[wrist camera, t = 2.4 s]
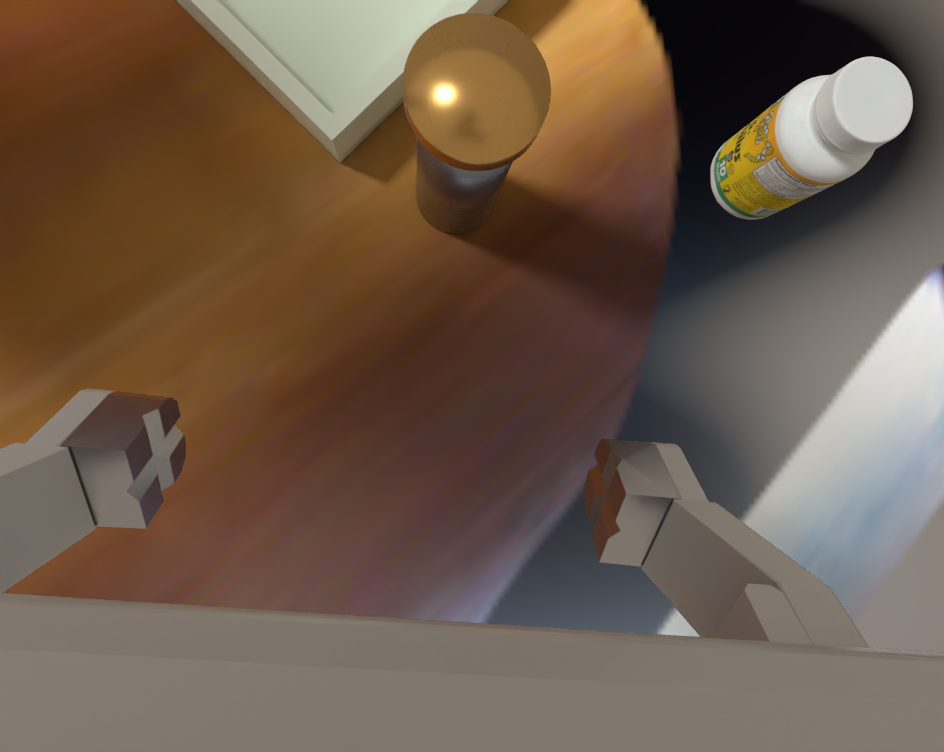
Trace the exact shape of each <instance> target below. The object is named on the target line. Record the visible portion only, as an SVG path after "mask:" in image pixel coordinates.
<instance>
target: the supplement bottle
mask: <svg viewBox="0 0 944 752" xmlns="http://www.w3.org/2000/svg"><path fill="white" fill-rule="evenodd" d="M912 107H913V99H912V92H911V88H910V86H909V83H908V81H907V79H906V78H905V76H904V75H903V73H902V72H901V71H900V70H899V69H898V68H897V67H896V66H895V65H893V64H892V63H890V62H888V61H887V60H884V59H881V58H877V57H863V58H860V59H856V60H854V61H853V62H851V63H849V64H847V65H846V66H845V67H843V68H842V69H840V70H839V71H837V72H836V73H834V74H832V75H823V76H818V77H814V78H811V79H808V80H806V81H804V82H802V83H801V84H799V85H798V86H796V87H795V88H794V89H792V90H791V91H790V92H788V93H787V94H786V95H785V96H783V97H782V98H781V99H779V100H778V101H777V102H776V103H775V104H773V105H772V106H771V107H769V108H768V109H767V110H766V111H764V112H763V113H762V114H761V115H759V116H758V117H757V118H756V119H755V120H753V121H752V122H751V123H749V124H748V125H747V126H746V127H744V128H743V129H742V130H740V131H739V132H738V133H737V134H735V135H734V136H733V137H732V138H730V139H729V140H728V141H727V142H726V143H724V144H723V145H722V146H721V148H720V149H719V150H718V152H717V153H716V155H715V157H714V159H713V162H712V165H711V187H712V191H713V193H714V196H715V198H716V200H717V202H718V203H719V204H720V205H721V206H722V207H723V208H724V209H725V210H726V211H727V212H729V213H731V214H732V215H734V216H736V217H739V218H743V219H749V220H753V219H754V220H755V219H761V218H765V217H768V216H770V215H772V214H775V213H777V212H779V211H781V210H783V209H785V208H787V207H789V206H791V205H793V204H795V203H797V202H799V201H801V200H803V199H805V198H807V197H809V196H812V195H814V194H816V193H818V192H820V191H822V190H824V189H826V188H828V187H830V186H832V185H834V184H836V183H838V182H841V181H842V180H844V179H846V178H848V177H850V176H852V175H853V174H855V173H856V172H857V171H859V170H860V169H861V168H862V167H863V166H864V165H865V164H866V163H867V162H868V160H869V159H870V158H871V156H872V154H873V152H874V150H875V149H876V148H878V147H879V146H881V145H883V144H885V143H886V142H888V141H890V140H891V139H893V138H895V137H896V136H897V135H898V134H900V133H901V132H902V131H903V130H904V128H905V127H906V125H907V124H908V122H909V120H910V116H911V113H912Z"/></svg>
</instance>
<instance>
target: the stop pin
mask: <svg viewBox="0 0 944 752" xmlns="http://www.w3.org/2000/svg"><path fill="white" fill-rule="evenodd" d="M550 96H551V86H550V78H549V73H548V69H547V66H546V63H545V61H544V59H543V57H542V55H541V53H540V51H539V50H538V48H537V47H536V45H535V44H534V43H533V41H532V40H531V39H530V38H529V37H528V36H527V35H526V34H525V33H524V32H523V31H522V30H520V29H519V28H517V27H516V26H515V25H513V24H511V23H510V22H508V21H506V20H504V19H501V18H499V17H496V16H492V15H488V14H482V13H464V14H457V15H454V16H450V17H447V18H445V19H443V20H441V21H439V22H437V23H435V24H434V25H432V26H431V27H430V28H428V29H427V30H426V31H425V32H424V33H423V34H422V35H421V36H420V37H419V38H418V39H417V41H416V42H415V44H414V45H413V47H412V49H411V51H410V53H409V55H408V57H407V60H406V63H405V68H404V73H403V98H404V109H405V113H406V117H407V120H408V123H409V126H410V128H411V130H412V132H413V134H414V135H415V137H416V143H417V202H418V206H419V209H420V211H421V213H422V215H423V216H424V218H425V219H426V220H427V222H428V223H429V224H431V225H432V226H433V227H435V228H436V229H438V230H440V231H442V232H445V233H449V234H464V233H468V232H471V231H473V230H475V229H477V228H478V227H480V226H481V225H482V224H483V223H484V222H485V221H486V219H487V218H488V216H489V215H490V213H491V210H492V208H493V206H494V203H495V201H496V199H497V196H498V194H499V192H500V189H501V187H502V185H503V182H504V180H505V178H506V176H507V173H508V171H509V169H510V166H511V164H512V162H513V161H514V160H516V159H517V158H519V157H520V156H521V155H522V154H523V153H525V152H526V150H527V149H528V148H529V147H530V146H531V145H532V143H533V142H534V140H535V139H536V137H537V135H538V133H539V131H540V128H541V126H542V124H543V122H544V120H545V118H546V115H547V112H548V109H549V104H550Z"/></svg>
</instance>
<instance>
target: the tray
mask: <svg viewBox="0 0 944 752" xmlns="http://www.w3.org/2000/svg"><path fill="white" fill-rule="evenodd" d="M176 1H177V2H178V3H179V4H180V5H181V6H182V7H183V8H184V9H185V10H186V11H187V12H188V13H189V14H190V15H191V16H192V17H193V18H194V19H195V20H196V21H197V22H198V23H199V24H200V25H201V26H202V27H203V28H204V29H205V30H206V31H207V32H208V33H209V34H210V35H211V36H212V37H213V38H214V39H215V40H216V41H217V42H218V43H219V44H220V45H221V46H222V47H223V48H224V49H225V50H226V51H227V52H228V53H229V54H230V55H231V56H232V57H233V58H234V59H235V60H236V61H237V62H238V63H239V64H240V65H241V66H242V67H243V68H244V69H245V70H246V71H247V72H248V73H249V74H250V75H251V76H252V77H253V78H254V79H255V80H256V81H257V82H258V83H259V84H260V85H261V86H262V87H263V88H264V89H266V90H267V91H268V92H269V93H270V94H271V95H272V96H273V97H274V98H275V99H276V100H277V101H278V102H279V103H280V104H281V105H282V106H283V107H284V108H285V109H286V110H287V111H288V112H289V113H290V114H291V115H292V116H293V117H294V118H295V119H296V120H297V121H298V122H299V123H300V124H301V125H302V126H303V127H304V128H305V129H306V130H307V131H308V132H309V133H310V134H311V135H312V136H313V137H314V138H315V139H316V140H317V141H318V142H319V143H320V144H321V145H322V146H323V147H324V148H325V149H326V150H327V151H328V152H329V153H330V154H331V155H332V156H333V157H334V158H335V159H336V160H337V161H338V162H339V163H341V162H342V161H343V160H344V159H345V158H346V157H347V156H348V155H349V154H350V153H351V152H352V151H353V150H354V149H355V148H356V147H357V146H358V145H359V144H360V143H361V142H362V141H364V140H365V139H366V138H367V137H368V136H369V135H370V134H371V133H372V132H373V131H374V130H375V129H376V128H377V127H378V126H379V125H380V124H381V123H382V122H383V121H384V120H385V119H386V118H387V117H388V116H389V115H391V114H392V113H393V112H394V111H395V110H396V109H397V108H398V107H399V106H400V105H401V104H402V103H403V102H404V98H403V73H404V68H405V63H406V60H407V57H408V55H409V53H410V51H411V49H412V47H413V45H414V44H415V42H416V41H417V39H418V38H419V37H420V36H421V35H422V34H423V33H424V32H425V31H426V30H427V29H428V28H430V27H431V26H432V25H434V24H435V23H437V22H439V21H441V20H443V19H445V18H447V17H450V16H454V15H457V14H464V13H482V14H488V15H492V16H493V15H494V14H495V13H496V12H497V11H498V10H499V9H501V8H502V7H503V6H504V5H505V4H506V3H507V2H508V1H509V0H176Z"/></svg>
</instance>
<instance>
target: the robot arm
mask: <svg viewBox="0 0 944 752" xmlns="http://www.w3.org/2000/svg"><path fill="white" fill-rule="evenodd" d="M179 417H180V412H179V408H178V403H177V401H176V400H174V399H173V398H171V397H164V396H155V395H146V394H138V393H129V392H120V391H116V392H115V391H109V390H100V389H90V388H88V389H84V390H80V391H79V392H78V393H77V394H76V395H75V396H74V397H73V398H72V399H71V400H70V401H69V402H68V403H67V404H66V405H64V406H63V407H62V408H61V409H60V410H59V411H58V412H57V413H56V414H55V415H54V416H53V417H52V418H51V419H50V420H49V421H48V422H47V423H46V424H45V425H44V426H43V427H42V428H41V429H39V430H38V431H37V432H36V433H35V434H34V435H33V436H32V437H31V438H30V439H29V440H28V441H27V442H26V443H13V444H11V445H8V446H6V447H3V448H1V449H0V752H944V653H943V652H927V651H911V650H894V649H879V648H869V646H868V645H867V643H866V641H865V640H864V638H863V637H862V635H861V634H860V632H859V631H858V629H857V628H856V626H855V625H854V623H853V622H852V620H851V618H850V617H849V615H848V614H847V612H846V611H845V609H844V608H843V606H842V605H841V603H840V602H839V600H838V599H837V597H836V595H835V594H834V592H833V591H832V589H831V588H830V587H829V586H827V585H826V584H825V583H823V582H822V581H821V580H819V579H818V578H816V577H815V576H814V575H812V574H811V573H810V572H808V571H807V570H806V569H804V568H803V567H802V566H800V565H799V564H798V563H796V562H795V561H794V560H792V559H791V558H790V557H788V556H787V555H786V554H784V553H783V552H782V551H780V550H779V549H778V548H776V547H775V546H773V545H772V544H771V543H769V542H768V541H767V540H765V539H764V538H763V537H761V536H760V535H759V534H757V533H756V532H755V531H753V530H752V529H751V528H749V527H748V526H747V525H745V524H744V523H743V522H741V521H740V520H739V519H737V518H736V517H734V516H733V515H732V514H730V513H729V512H728V511H726V510H725V509H724V508H722V507H721V506H720V505H718V504H717V503H711V502H708V500H707V498H706V496H705V494H704V492H703V490H702V488H701V486H700V484H699V483H698V481H697V479H696V477H695V475H694V473H693V471H692V469H691V467H690V466H689V464H688V462H687V460H686V458H685V456H684V454H683V453H682V450H681V449H680V447H679V446H677V445H676V444H669V443H654V442H651V443H644V442H633V441H622V440H611V439H601V441H600V442H599V444H598V446H597V449H596V451H595V457H596V460H597V465H596V466H595V467H593V468H592V469H591V470H589V472H588V476H587V479H586V482H585V491H584V502H585V509H586V513H587V517H588V518H589V519H590V520H591V521H592V522H593V523H594V524H595V527H594V530H593V533H592V537H593V540H594V544H595V548H596V552H597V555H598V559H599V562H602V563H612V564H621V565H631V566H642V570H643V571H644V572H645V573H646V574H647V575H648V576H649V578H650V579H651V580H652V581H653V582H654V584H655V585H656V586H657V587H658V588H659V589H660V590H661V592H662V593H663V594H664V595H665V596H666V597H667V599H668V600H669V601H670V602H671V603H672V604H673V605H674V607H675V608H676V609H677V610H678V611H679V612H680V614H681V615H682V616H683V617H684V618H685V619H686V620H687V622H688V623H689V624H690V625H691V626H692V627H693V629H694V630H695V631H696V632H697V633H698V634H699V635H700V637H689V636H673V635H657V634H640V633H625V632H609V631H592V630H577V629H576V630H575V629H561V628H544V627H529V626H514V625H499V624H483V623H467V622H452V621H436V620H420V619H404V618H388V617H373V616H357V615H341V614H325V613H309V612H293V611H277V610H261V609H245V608H229V607H213V606H197V605H182V604H166V603H150V602H134V601H118V600H102V599H86V598H70V597H55V596H39V595H23V594H7V593H2V592H4V591H5V590H7V589H8V588H10V587H11V586H13V585H14V584H16V583H17V582H19V581H20V580H21V579H23V578H24V577H26V576H27V575H29V574H30V573H32V572H33V571H35V570H36V569H37V568H39V567H40V566H42V565H43V564H45V563H46V562H48V561H49V560H51V559H52V558H53V557H55V556H56V555H58V554H59V553H61V552H62V551H64V550H65V549H67V548H68V547H70V546H71V545H72V544H74V543H75V542H77V541H78V540H80V539H81V538H83V537H84V536H86V535H87V534H88V533H90V532H91V531H93V530H94V529H95V526H104V527H124V528H145V529H146V528H147V527H148V525H149V523H150V522H151V520H152V519H153V517H154V515H155V514H156V512H157V511H158V509H159V508H160V506H161V504H162V503H163V501H164V500H163V496H162V490H163V489H165V488H167V487H169V486H170V485H172V484H174V483H175V482H176V480H177V478H178V476H179V475H180V473H181V471H182V468H183V464H184V461H185V457H186V443H185V437H184V434H183V433H182V432H181V431H180V430H179V429H178V428H177V427H176V426H175V425H174V424H175V423H176V422H177V420H178V419H179Z"/></svg>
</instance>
